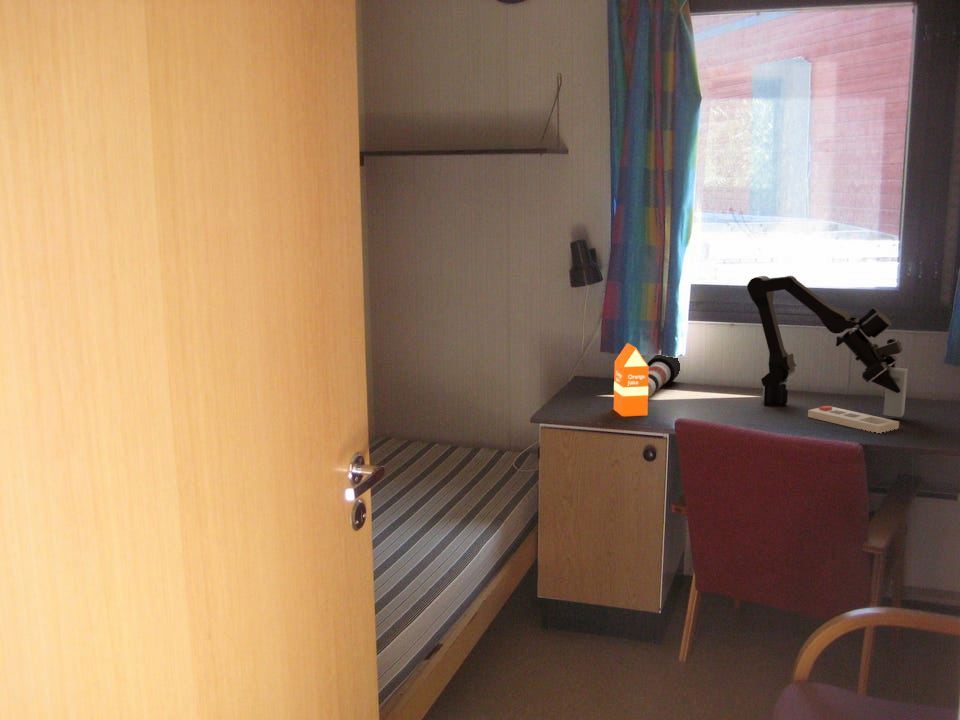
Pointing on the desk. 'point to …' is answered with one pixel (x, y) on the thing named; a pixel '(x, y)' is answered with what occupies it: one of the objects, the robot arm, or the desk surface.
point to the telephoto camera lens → (661, 372)
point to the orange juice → (630, 383)
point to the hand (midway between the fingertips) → (900, 390)
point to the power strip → (853, 419)
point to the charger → (894, 400)
